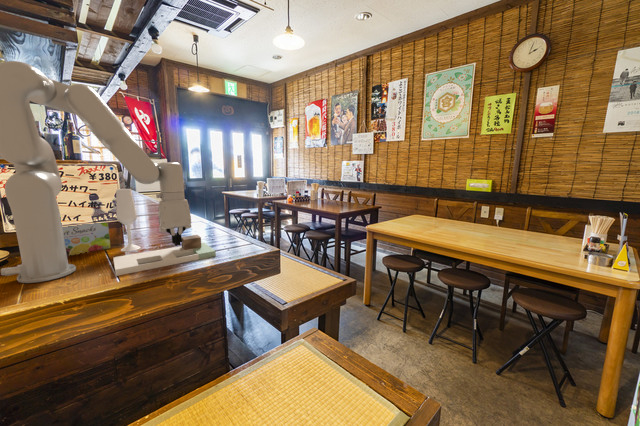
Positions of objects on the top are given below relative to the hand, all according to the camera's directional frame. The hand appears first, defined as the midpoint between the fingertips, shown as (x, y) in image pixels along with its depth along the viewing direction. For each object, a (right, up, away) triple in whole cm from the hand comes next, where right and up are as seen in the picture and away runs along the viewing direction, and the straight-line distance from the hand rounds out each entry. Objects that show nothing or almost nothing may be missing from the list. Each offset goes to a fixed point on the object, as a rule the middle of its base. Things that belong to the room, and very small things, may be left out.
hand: (177, 244), depth 101 cm
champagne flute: (-22, -3, +7) cm, 24 cm away
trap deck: (-1, -5, -5) cm, 7 cm away
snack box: (-39, -4, +1) cm, 40 cm away
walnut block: (+4, -1, +3) cm, 5 cm away
